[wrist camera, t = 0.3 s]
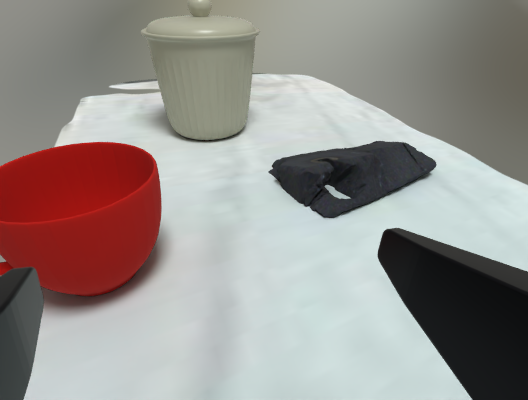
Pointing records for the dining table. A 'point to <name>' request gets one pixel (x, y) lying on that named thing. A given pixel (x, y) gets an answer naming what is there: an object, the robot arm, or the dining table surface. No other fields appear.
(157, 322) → the dining table surface
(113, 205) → the ceramic cup
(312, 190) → the dark slate chunk
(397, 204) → the dining table surface
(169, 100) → the canister
